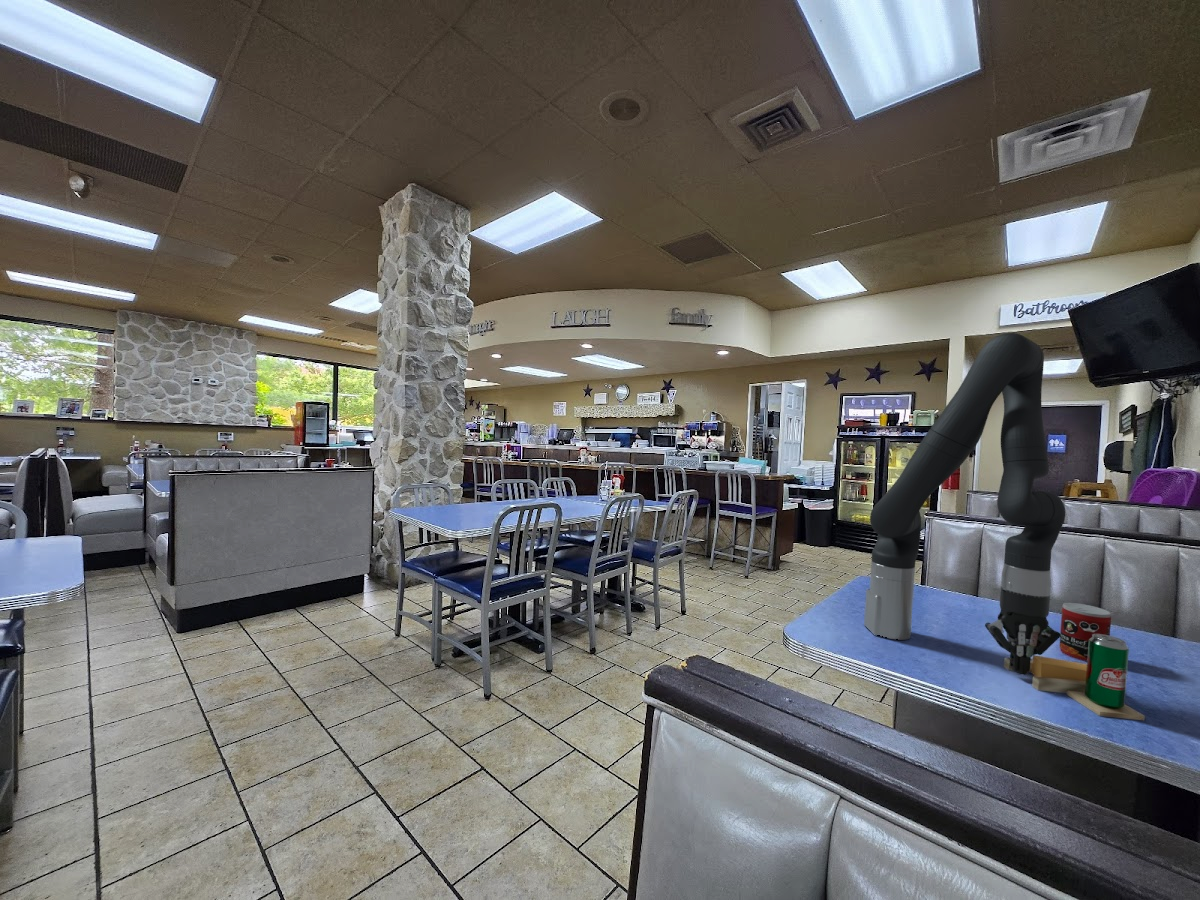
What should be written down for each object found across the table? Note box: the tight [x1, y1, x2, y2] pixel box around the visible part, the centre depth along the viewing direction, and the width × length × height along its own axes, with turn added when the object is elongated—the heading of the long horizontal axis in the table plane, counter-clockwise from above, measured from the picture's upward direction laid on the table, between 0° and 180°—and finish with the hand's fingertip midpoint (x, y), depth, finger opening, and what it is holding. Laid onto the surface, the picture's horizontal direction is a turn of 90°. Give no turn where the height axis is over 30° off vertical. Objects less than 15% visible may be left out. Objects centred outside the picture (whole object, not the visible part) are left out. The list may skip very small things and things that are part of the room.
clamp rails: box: [1003, 657, 1086, 694], centre depth 98 cm, size 14×10×2 cm, turn 83°
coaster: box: [1066, 691, 1146, 721], centre depth 89 cm, size 7×7×1 cm
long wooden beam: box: [1031, 655, 1087, 681], centre depth 98 cm, size 10×4×4 cm, turn 68°
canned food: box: [1059, 602, 1112, 662], centre depth 111 cm, size 8×8×11 cm
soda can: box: [1085, 634, 1130, 709], centre depth 89 cm, size 5×5×12 cm
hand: (1019, 672), depth 99 cm, fingers closed
